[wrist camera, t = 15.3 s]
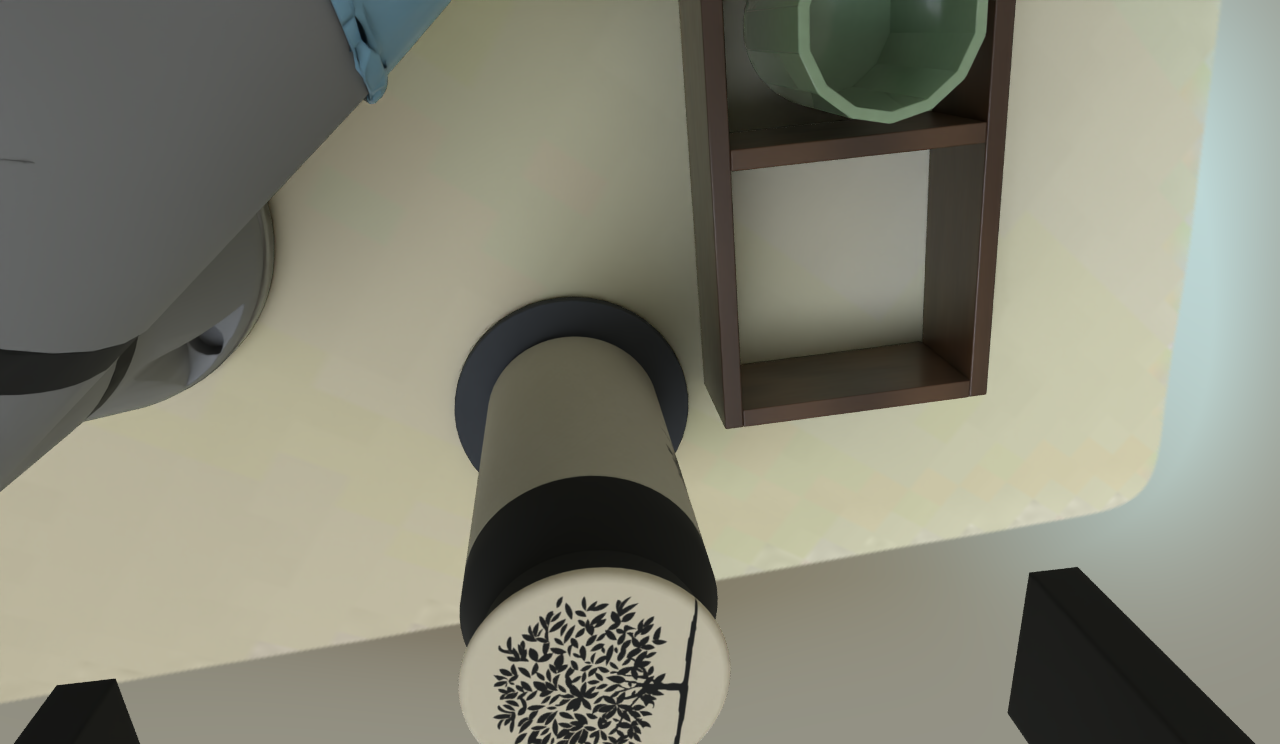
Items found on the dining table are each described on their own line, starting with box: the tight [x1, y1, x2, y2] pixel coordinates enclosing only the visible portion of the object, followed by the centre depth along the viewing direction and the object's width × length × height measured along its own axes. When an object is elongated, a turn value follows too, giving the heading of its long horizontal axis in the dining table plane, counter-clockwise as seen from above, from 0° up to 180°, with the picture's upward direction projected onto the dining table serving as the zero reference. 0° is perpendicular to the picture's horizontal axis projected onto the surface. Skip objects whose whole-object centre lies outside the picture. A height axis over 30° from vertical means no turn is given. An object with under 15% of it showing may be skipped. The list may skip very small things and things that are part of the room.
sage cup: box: [743, 0, 988, 124], centre depth 31 cm, size 6×6×8 cm
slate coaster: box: [455, 297, 688, 472], centre depth 40 cm, size 11×11×1 cm
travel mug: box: [458, 337, 731, 744], centre depth 31 cm, size 8×8×18 cm
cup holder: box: [679, 0, 1016, 429], centre depth 34 cm, size 12×20×5 cm, turn 5°
